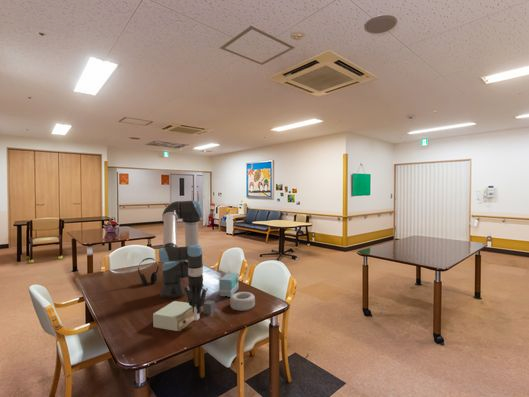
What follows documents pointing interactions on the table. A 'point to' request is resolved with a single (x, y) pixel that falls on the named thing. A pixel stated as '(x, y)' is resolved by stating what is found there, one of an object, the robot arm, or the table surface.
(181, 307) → the drawer cabinet
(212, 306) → the block
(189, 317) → the wooden drawer
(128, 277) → the table surface
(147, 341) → the table surface
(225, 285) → the radio
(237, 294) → the donut shape
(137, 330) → the table surface
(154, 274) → the headphones
